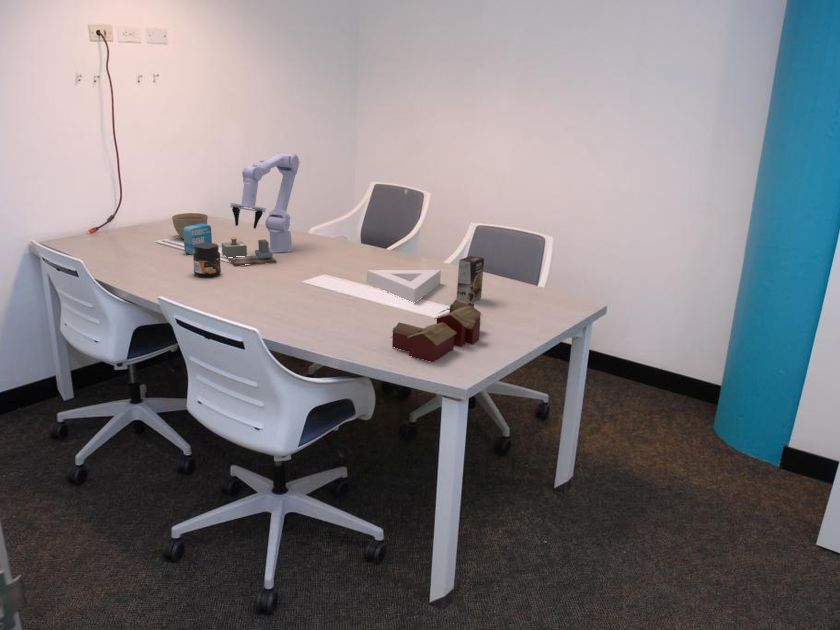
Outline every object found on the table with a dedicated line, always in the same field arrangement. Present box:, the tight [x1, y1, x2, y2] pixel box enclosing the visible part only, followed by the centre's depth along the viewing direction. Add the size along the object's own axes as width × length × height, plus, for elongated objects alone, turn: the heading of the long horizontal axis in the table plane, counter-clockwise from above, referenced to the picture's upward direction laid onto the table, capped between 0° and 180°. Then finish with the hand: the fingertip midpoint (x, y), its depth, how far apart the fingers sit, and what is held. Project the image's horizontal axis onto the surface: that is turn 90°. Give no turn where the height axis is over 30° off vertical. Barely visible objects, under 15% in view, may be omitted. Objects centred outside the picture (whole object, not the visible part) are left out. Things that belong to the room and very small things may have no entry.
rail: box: [228, 255, 277, 267], centre depth 320 cm, size 18×10×2 cm, turn 118°
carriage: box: [254, 239, 274, 259], centre depth 321 cm, size 6×6×7 cm
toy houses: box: [389, 299, 483, 363], centre depth 243 cm, size 45×20×10 cm, turn 149°
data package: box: [183, 224, 213, 256], centre depth 329 cm, size 12×4×12 cm, turn 147°
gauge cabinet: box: [221, 240, 248, 258], centre depth 328 cm, size 9×8×5 cm
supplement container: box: [192, 242, 222, 278], centre depth 297 cm, size 10×10×12 cm
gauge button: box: [230, 236, 238, 245], centre depth 327 cm, size 3×3×5 cm
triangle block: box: [366, 269, 442, 303], centre depth 292 cm, size 30×26×6 cm
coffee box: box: [456, 255, 485, 304], centre depth 280 cm, size 9×6×16 cm
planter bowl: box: [171, 212, 209, 240], centre depth 352 cm, size 16×16×11 cm
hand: (245, 227), depth 315 cm, fingers open, 7 cm apart
